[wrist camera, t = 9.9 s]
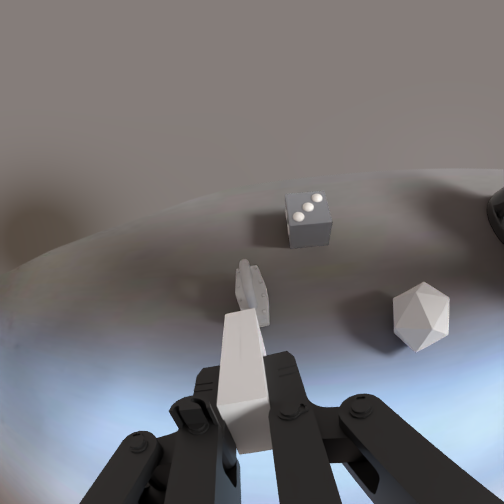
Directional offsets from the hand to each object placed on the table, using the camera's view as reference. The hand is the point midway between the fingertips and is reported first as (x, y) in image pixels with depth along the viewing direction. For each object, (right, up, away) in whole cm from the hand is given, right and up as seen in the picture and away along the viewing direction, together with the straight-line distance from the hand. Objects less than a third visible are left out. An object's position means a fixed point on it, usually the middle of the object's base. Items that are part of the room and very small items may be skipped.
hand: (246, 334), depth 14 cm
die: (+23, -6, +21) cm, 31 cm away
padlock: (+1, -3, +26) cm, 26 cm away
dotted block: (+9, +7, +31) cm, 33 cm away
